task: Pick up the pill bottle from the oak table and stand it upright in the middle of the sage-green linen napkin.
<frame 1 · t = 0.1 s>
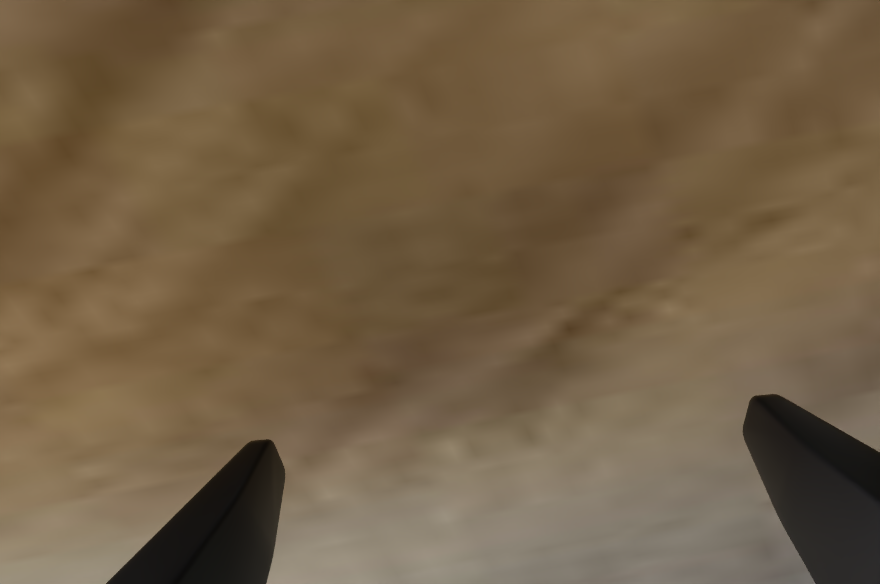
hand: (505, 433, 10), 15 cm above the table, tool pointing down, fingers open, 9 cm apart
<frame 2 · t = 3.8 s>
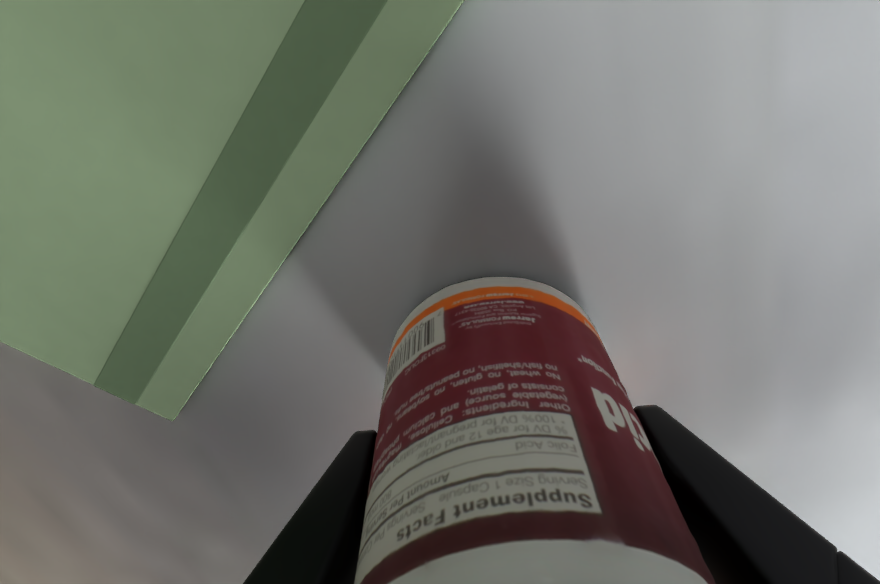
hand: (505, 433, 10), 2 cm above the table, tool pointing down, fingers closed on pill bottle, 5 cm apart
pill bottle: (492, 354, 12), on the table, touching gripper
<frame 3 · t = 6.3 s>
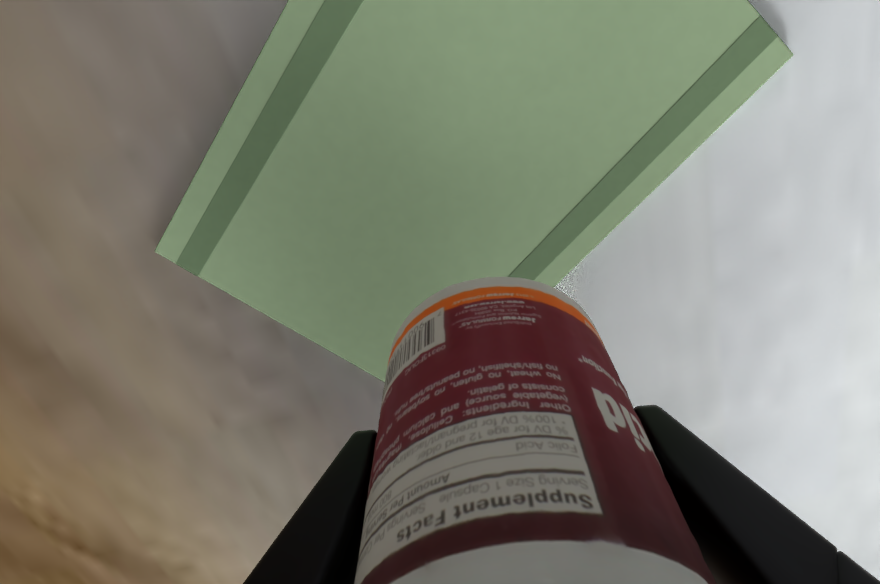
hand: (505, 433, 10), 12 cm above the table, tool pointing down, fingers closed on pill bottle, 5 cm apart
pill bottle: (493, 354, 12), point 9 cm above the table, touching gripper
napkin: (441, 160, 19), on the table
when the fingers open (2 cm above the table, at t = 9.0 s): pill bottle stays where it is, resting on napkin.
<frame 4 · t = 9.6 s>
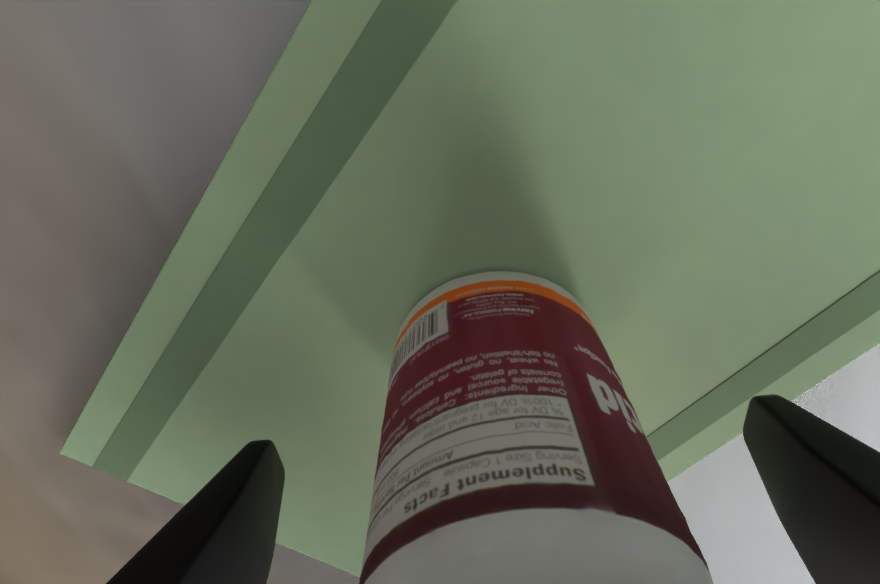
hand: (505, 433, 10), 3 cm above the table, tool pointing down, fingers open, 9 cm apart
pill bottle: (493, 346, 12), resting on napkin
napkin: (492, 341, 12), on the table
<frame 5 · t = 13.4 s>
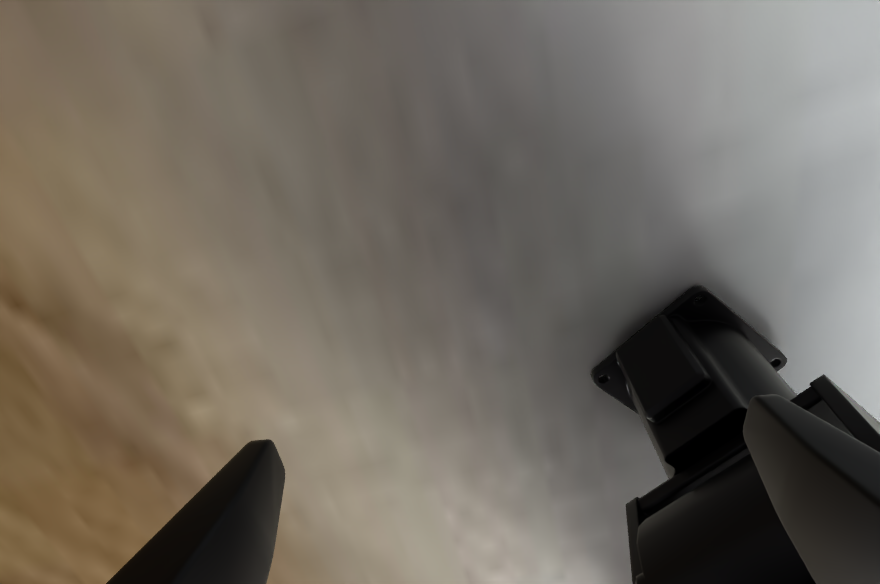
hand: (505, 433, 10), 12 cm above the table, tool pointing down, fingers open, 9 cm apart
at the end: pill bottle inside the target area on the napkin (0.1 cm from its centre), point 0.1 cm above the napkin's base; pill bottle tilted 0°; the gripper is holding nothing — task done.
